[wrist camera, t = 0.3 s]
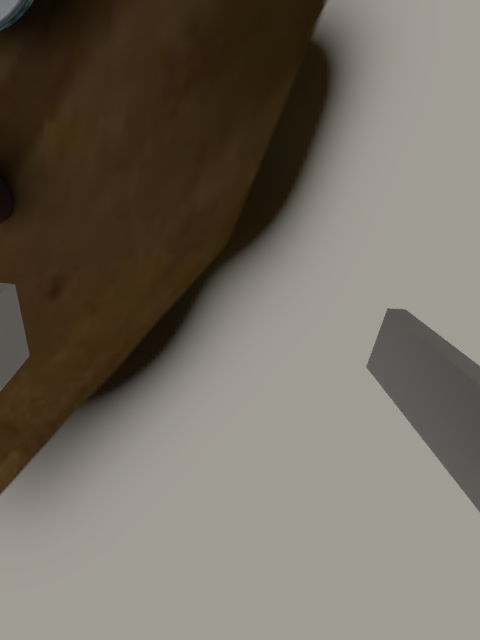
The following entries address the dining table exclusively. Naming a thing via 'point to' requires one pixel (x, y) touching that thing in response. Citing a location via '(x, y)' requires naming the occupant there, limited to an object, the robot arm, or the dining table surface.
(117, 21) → the dining table surface
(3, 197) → the beverage can
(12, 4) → the chinaware
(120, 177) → the dining table surface
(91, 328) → the dining table surface
